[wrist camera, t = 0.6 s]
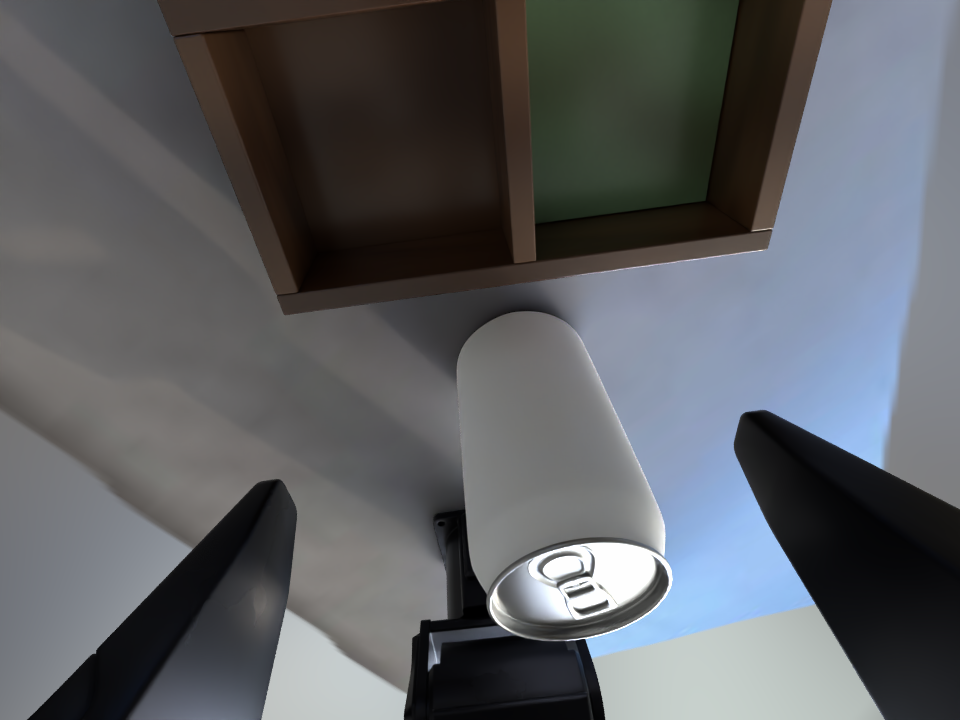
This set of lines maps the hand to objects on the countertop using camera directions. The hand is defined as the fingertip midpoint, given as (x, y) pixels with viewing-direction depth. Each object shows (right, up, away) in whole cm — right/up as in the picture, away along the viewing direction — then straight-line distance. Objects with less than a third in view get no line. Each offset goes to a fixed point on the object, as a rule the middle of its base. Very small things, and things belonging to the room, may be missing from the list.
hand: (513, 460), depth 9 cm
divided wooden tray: (0, +11, +8) cm, 14 cm away
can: (+1, +2, +15) cm, 15 cm away
